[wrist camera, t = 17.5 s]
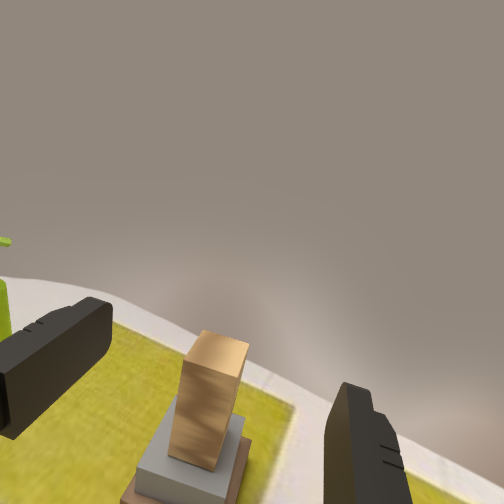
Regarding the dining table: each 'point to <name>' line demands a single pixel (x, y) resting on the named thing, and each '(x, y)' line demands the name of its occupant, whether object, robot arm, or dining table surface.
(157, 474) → the gray slab
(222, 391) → the oak pillar
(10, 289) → the dining table surface
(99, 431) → the dining table surface
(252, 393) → the dining table surface
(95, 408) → the dining table surface
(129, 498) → the walnut slab
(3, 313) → the soap dispenser
